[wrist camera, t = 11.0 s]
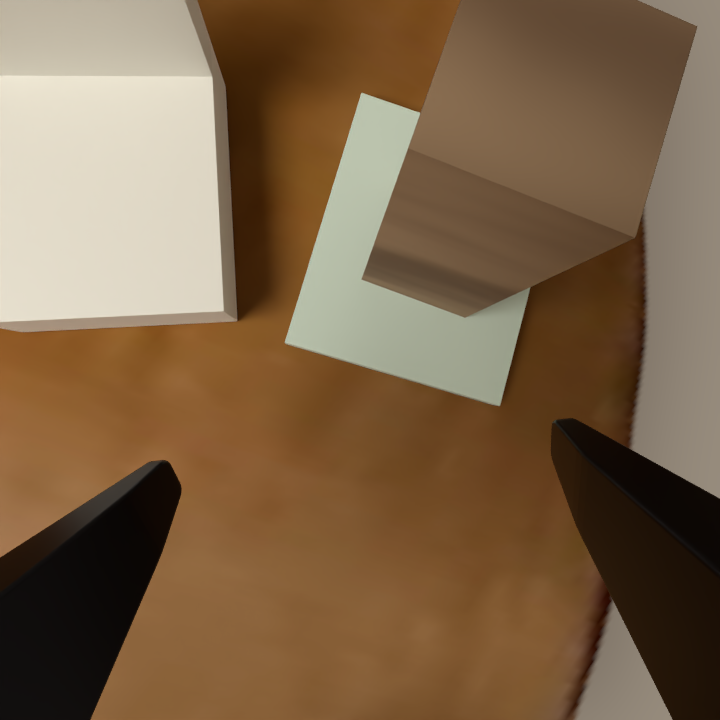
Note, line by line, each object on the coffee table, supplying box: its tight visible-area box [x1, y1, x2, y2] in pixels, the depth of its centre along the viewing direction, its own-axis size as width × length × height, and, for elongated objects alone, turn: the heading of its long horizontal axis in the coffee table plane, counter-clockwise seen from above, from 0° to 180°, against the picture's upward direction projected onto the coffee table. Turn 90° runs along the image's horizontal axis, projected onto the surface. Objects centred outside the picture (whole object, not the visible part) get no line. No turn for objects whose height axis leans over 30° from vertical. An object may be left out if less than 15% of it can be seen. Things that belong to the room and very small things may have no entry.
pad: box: [285, 93, 530, 406], centre depth 19 cm, size 12×10×1 cm
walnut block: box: [361, 0, 697, 318], centre depth 13 cm, size 5×5×10 cm
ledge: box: [0, 0, 237, 332], centre depth 13 cm, size 11×9×9 cm
